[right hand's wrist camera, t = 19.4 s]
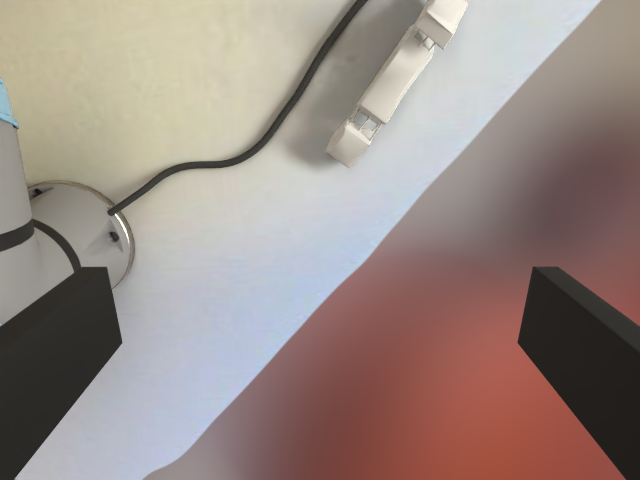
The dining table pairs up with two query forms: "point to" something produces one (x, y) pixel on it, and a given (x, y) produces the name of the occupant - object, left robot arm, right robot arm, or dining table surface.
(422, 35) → the white segmented figure
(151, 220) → the dining table surface
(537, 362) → the right robot arm
